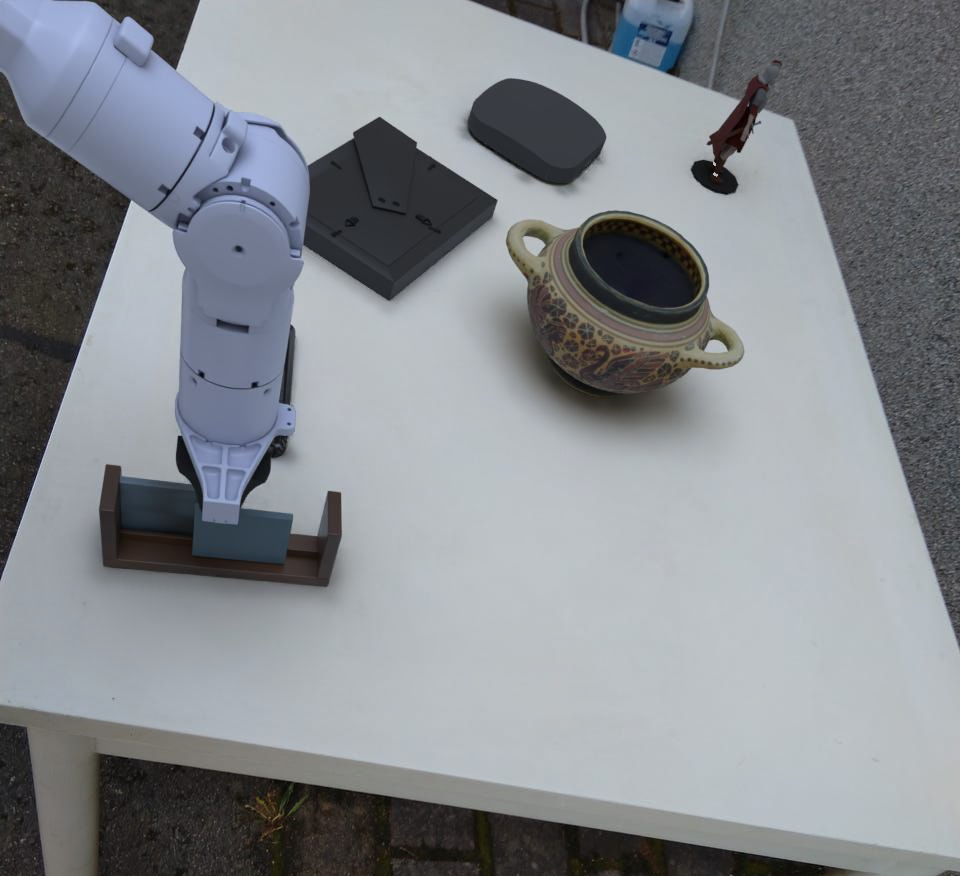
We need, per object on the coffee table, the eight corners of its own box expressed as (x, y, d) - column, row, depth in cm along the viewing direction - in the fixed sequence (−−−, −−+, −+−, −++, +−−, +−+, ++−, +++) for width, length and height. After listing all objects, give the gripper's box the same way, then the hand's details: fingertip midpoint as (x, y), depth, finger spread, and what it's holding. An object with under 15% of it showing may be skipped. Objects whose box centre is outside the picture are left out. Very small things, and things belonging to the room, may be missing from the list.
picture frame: (374, 141, 103) (256, 213, 91) (379, 116, 100) (259, 187, 88) (492, 217, 102) (389, 300, 90) (500, 193, 100) (395, 276, 87)
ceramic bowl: (448, 351, 93) (471, 242, 79) (539, 242, 99) (575, 123, 85) (655, 486, 91) (716, 400, 77) (734, 366, 98) (803, 267, 84)
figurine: (738, 201, 119) (805, 84, 107) (686, 182, 118) (748, 62, 106) (736, 172, 123) (800, 56, 111) (685, 153, 122) (745, 34, 109)
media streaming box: (454, 129, 109) (461, 104, 106) (511, 89, 117) (518, 65, 115) (559, 194, 108) (569, 171, 105) (609, 149, 116) (618, 126, 114)
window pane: (284, 554, 70) (298, 482, 63) (284, 568, 69) (298, 496, 62) (192, 545, 68) (197, 470, 61) (191, 559, 67) (195, 484, 61)
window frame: (327, 544, 73) (341, 491, 68) (328, 586, 71) (342, 535, 66) (109, 522, 68) (105, 463, 63) (103, 566, 66) (98, 509, 61)
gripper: (304, 459, 50) (277, 598, 61) (306, 280, 57) (281, 432, 68) (165, 441, 48) (163, 588, 59) (185, 258, 55) (180, 419, 66)
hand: (219, 504), depth 63 cm, fingers closed on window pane
